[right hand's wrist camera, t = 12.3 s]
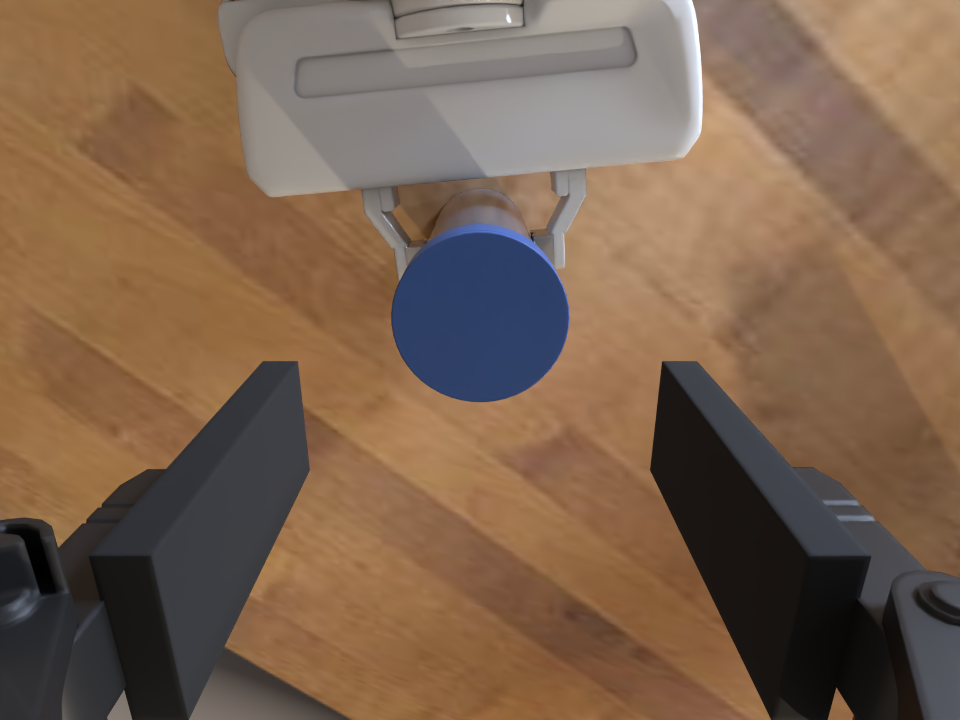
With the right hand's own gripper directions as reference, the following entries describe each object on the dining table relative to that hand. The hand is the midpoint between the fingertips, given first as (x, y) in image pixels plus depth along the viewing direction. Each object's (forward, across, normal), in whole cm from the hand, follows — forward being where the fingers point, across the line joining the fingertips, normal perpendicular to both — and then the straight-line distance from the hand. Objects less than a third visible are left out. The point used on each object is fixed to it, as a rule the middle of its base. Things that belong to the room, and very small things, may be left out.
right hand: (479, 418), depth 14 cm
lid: (+8, 0, 0) cm, 8 cm away
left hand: (+18, 0, -1) cm, 18 cm away
